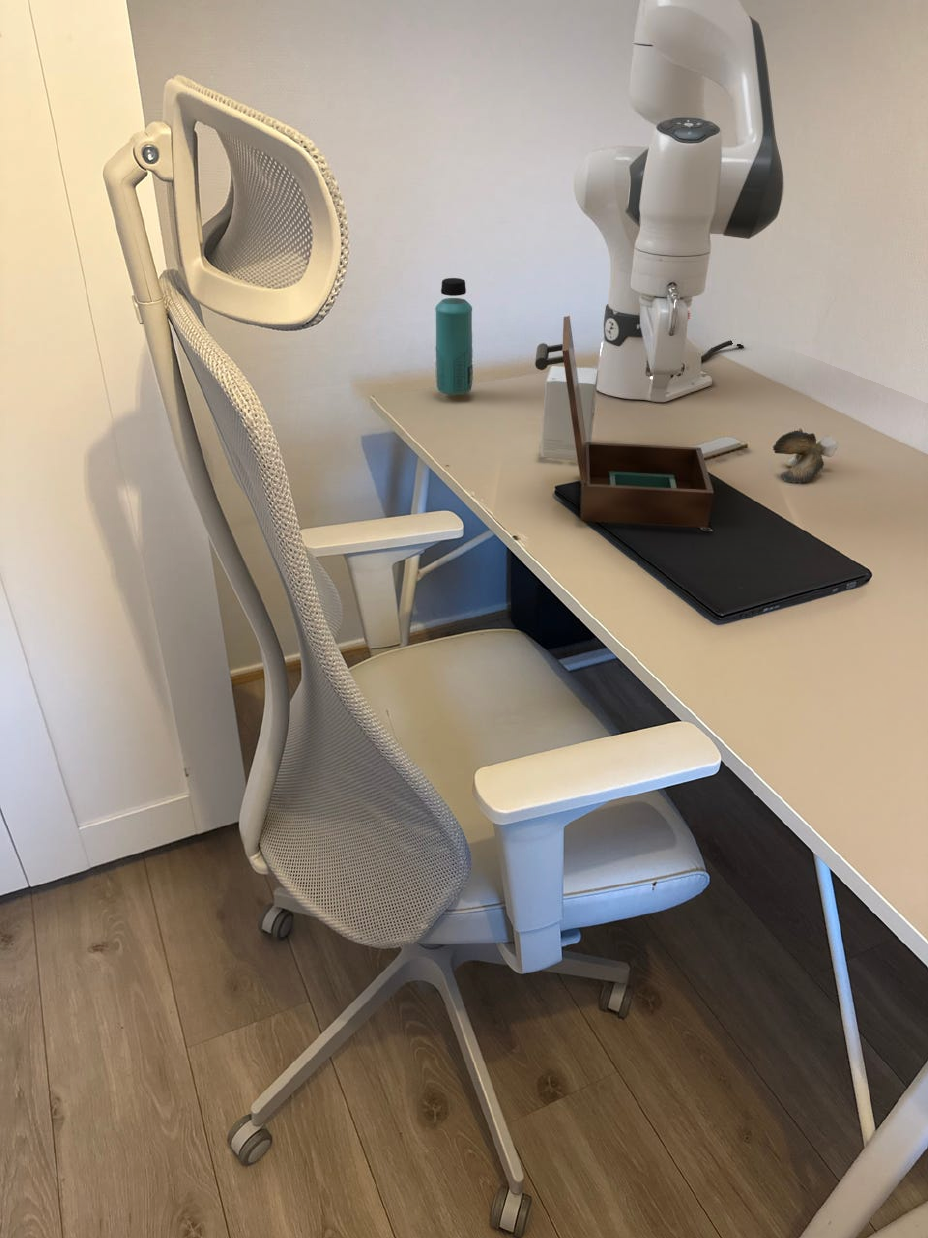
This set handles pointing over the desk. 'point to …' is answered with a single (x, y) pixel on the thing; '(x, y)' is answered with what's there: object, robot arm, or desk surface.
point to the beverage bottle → (454, 340)
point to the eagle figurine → (804, 454)
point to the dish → (641, 479)
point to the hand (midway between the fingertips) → (654, 387)
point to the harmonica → (720, 447)
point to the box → (646, 503)
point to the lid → (572, 386)
